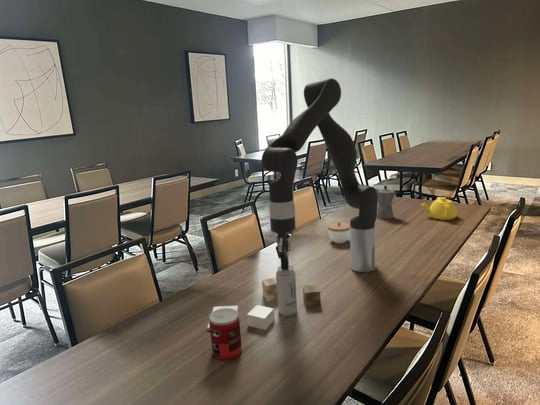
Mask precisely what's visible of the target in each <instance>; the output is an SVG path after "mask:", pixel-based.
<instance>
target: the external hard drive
mask: <svg viewBox="0 0 540 405" xmlns="http://www.w3.org/2000/svg"><path fill="white" fill-rule="evenodd" d="M223 308H230V309H234V310H236V311H237V312H238V313H239V305H222V306H219V305H218V306H213V307H212V311H211V313H212V312H214V311H216V310H218V309H223ZM206 330H207V332H208V331H209V332H210V325H209V323H208V324H207V326H206Z"/></svg>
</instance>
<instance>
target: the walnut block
mask: <svg viewBox="0 0 540 405" xmlns="http://www.w3.org/2000/svg"><path fill="white" fill-rule="evenodd" d="M302 295H303V296H302V297H303V301H304V306H305V308H307V307H315V306H317V307H319V306H321V304H322V303H321V290H320V287H319V285H318V284H309V285H302Z"/></svg>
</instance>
